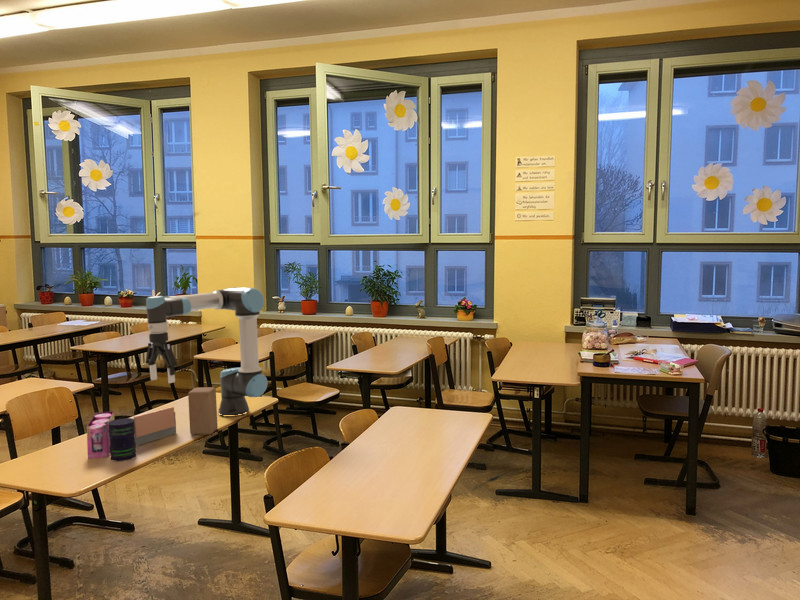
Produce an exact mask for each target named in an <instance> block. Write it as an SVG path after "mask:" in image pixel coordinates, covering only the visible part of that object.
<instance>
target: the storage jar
mask: <svg viewBox="0 0 800 600" xmlns="http://www.w3.org/2000/svg"><path fill="white" fill-rule="evenodd" d="M108 425H109V429H108V431H109V437H110V454H109V456H110V461H113V462H125V461H124V460H126V461H129V460H132V459H134V458H136V457H137V446H136V442H135V436H134V434H135V426H134V418H129V417H124V418H123V417H122V418H116V419H115V420H112V421H110V422H109V423H108Z"/></svg>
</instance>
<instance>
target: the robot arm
mask: <svg viewBox="0 0 800 600" xmlns="http://www.w3.org/2000/svg"><path fill="white" fill-rule="evenodd" d="M145 301H146V302H145V303H146V304H145V306H146V307H145V309H146V317H147V328H148V332H149V334H148V336H149V343H147V353H146V358H145V364H147V365H148V366H149V378H150V381H156V380H158V373H157V371H158V370H157V363H156V362H157V359H158V357H159V355H160V356H161V357H162V358H163V360H164V362H165V364H166V365H167V367H166V369H167V382H168V384H172V383H176V375H175V374H176V372H175V367H177V366H178V363H177V360H176V357H175V354H174V352H173V350H172V349H173V348H172V344H171V343H168V344H167V341H168V340H169V333H168V320H167V318H169V317H170V318H171V317H177V316H183V315H188V314H189V313H190V312H192V311H199V310H201V311H202V310H205V309H207V310H208V309H214V310H217V311H218V310H229V311H234V314H235V317H236V318H237V319H238V328H239V332H238V333H239V351H240V353H239V354H240V367H230V368H226V369H223V370H221V371H220V378H219V379H220V380H219V381H220V392H221V393H220V395H221V397H220V398H221V401H220V404H219V408H218V409H217V413H218V414H219V413H220V414H222V415H238V414H243V413H245V412H248V411H249V412H250V407H249V405H248V402H247V399H246V397H249V398H259V397H261V396H262V395H263V394H264V393H265V392H266V390H267V387H268V383H269V382H268V379H267V377H266V375H264V374H263V368H262V367H261V366H260V363H259V362H260V361H259V339H258V336H259V335H258V321H257V320H258V317H259V316H260V315H261V313H260V311H261V310H262V309H263V308H264V305H265V297H264V295H263V293H262V292H261V291H260V289H257V288H254V287H237V286H236V287H234V286H232V287H228V288H223V289H216V290H213V291H212V292H205V293H195V294H183V295H173V296H163V295H156V296H147V298H146V299H145Z"/></svg>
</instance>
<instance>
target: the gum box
mask: <svg viewBox="0 0 800 600" xmlns="http://www.w3.org/2000/svg"><path fill="white" fill-rule="evenodd" d="M112 420H116V419H115V411H113V410H112V411H102V412H95V413H94V414H93V416H92V418H91V419H90V420H89V422H88V423H87V425H86V440H87V441H86V442H87V445H86V446H87V459H100V458H108V457H109V456H110V437H109V431H108V429H109V425H108V423H109V422H110V421H112Z"/></svg>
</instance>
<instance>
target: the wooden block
mask: <svg viewBox="0 0 800 600" xmlns="http://www.w3.org/2000/svg"><path fill="white" fill-rule="evenodd" d="M216 389H217V388H216V387H213V386H212V387H211V386H208V387H200V386H199V387H194V388H193V389H191V390H190V391H189V392H188V394H187V395H188V397H187V399H188V400H187V401H188V417H189V418H188V419H189V433H190V435H192V436H194V435H193V434H198V435H199V434H201V436H202V435H203V436H205V435H206V436H207V435H212V434H213V433H214V432H216V430H218V407H217V390H216ZM215 429H216V430H215ZM198 435H197V436H198ZM199 436H200V435H199Z"/></svg>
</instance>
